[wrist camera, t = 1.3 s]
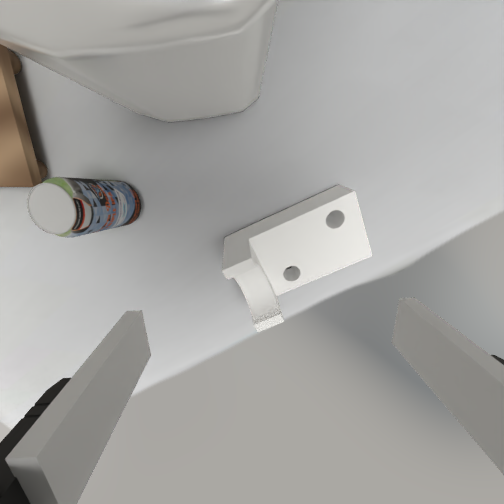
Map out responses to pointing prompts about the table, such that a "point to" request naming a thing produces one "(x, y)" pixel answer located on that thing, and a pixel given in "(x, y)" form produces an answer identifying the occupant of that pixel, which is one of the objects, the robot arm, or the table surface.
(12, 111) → the wooden serving board
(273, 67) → the table surface
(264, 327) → the white pipe support bracket
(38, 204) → the beverage can
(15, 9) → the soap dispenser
